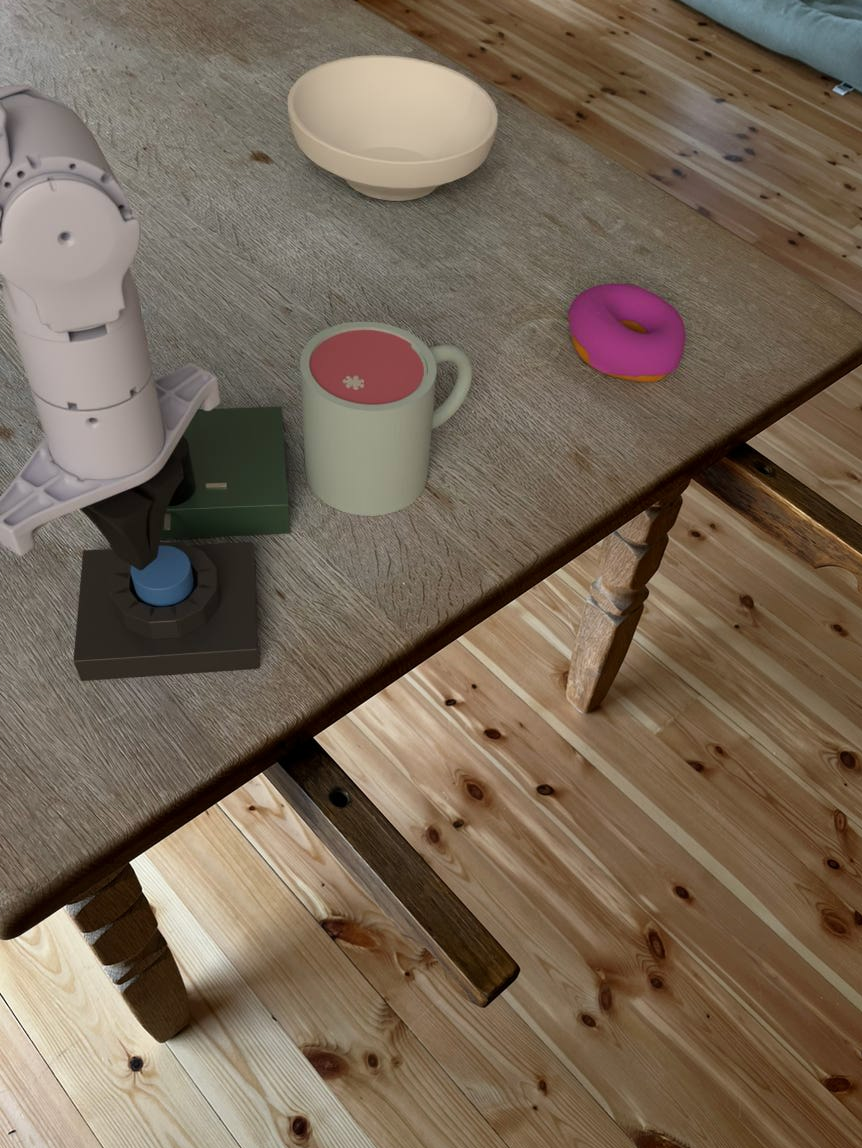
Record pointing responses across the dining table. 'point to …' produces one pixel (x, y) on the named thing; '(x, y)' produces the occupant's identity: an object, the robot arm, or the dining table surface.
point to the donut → (627, 332)
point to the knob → (188, 482)
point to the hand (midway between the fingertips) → (136, 556)
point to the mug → (373, 414)
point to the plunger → (164, 578)
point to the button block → (168, 617)
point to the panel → (234, 476)
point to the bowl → (392, 123)
